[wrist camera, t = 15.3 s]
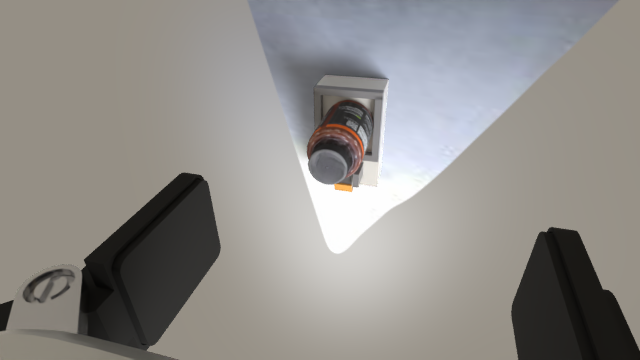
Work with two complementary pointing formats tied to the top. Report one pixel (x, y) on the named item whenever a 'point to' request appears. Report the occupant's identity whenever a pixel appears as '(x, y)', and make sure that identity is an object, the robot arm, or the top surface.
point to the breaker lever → (345, 184)
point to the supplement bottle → (339, 142)
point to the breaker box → (373, 99)
